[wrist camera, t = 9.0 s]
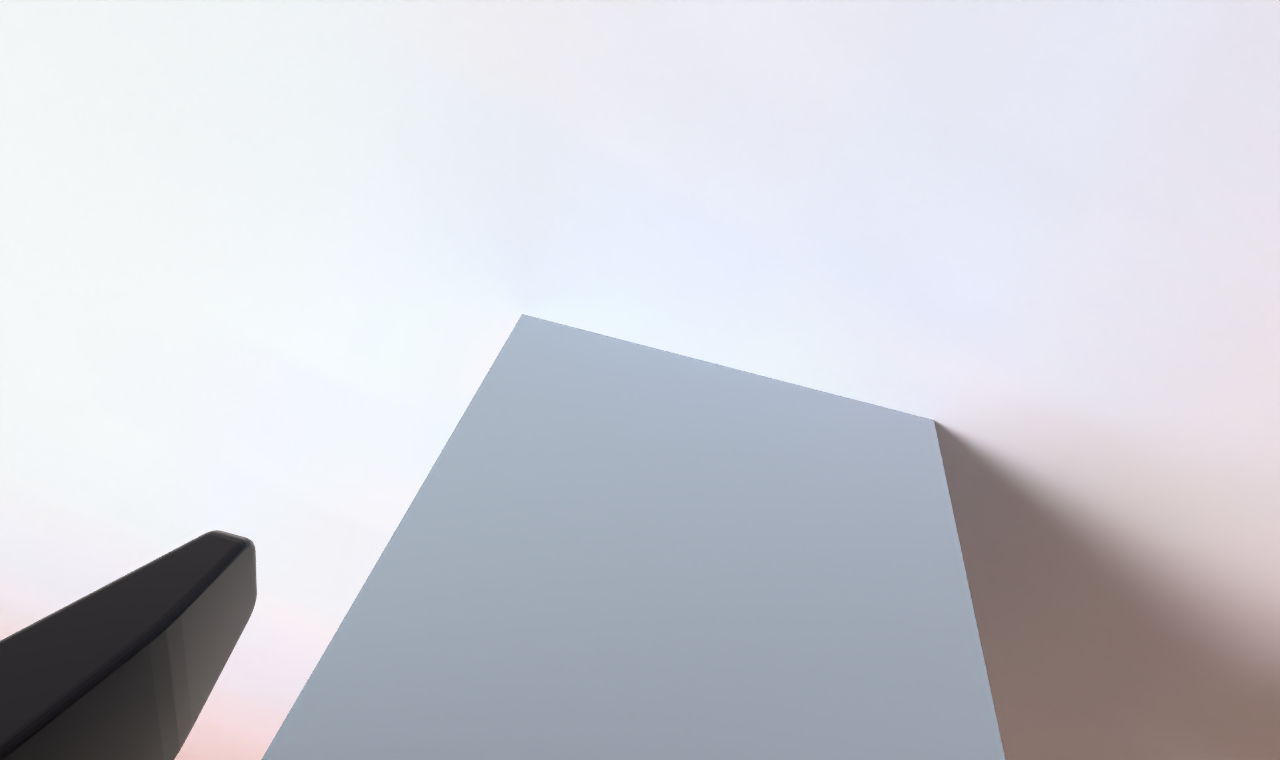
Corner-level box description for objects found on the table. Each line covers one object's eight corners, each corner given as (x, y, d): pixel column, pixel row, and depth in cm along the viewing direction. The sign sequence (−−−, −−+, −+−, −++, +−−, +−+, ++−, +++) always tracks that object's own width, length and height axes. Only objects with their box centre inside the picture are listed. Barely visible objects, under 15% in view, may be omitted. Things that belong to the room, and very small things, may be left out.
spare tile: (884, 524, 14) (958, 1193, 7) (505, 425, 14) (222, 987, 7) (933, 419, 13) (1075, 1093, 6) (522, 313, 13) (207, 852, 6)
